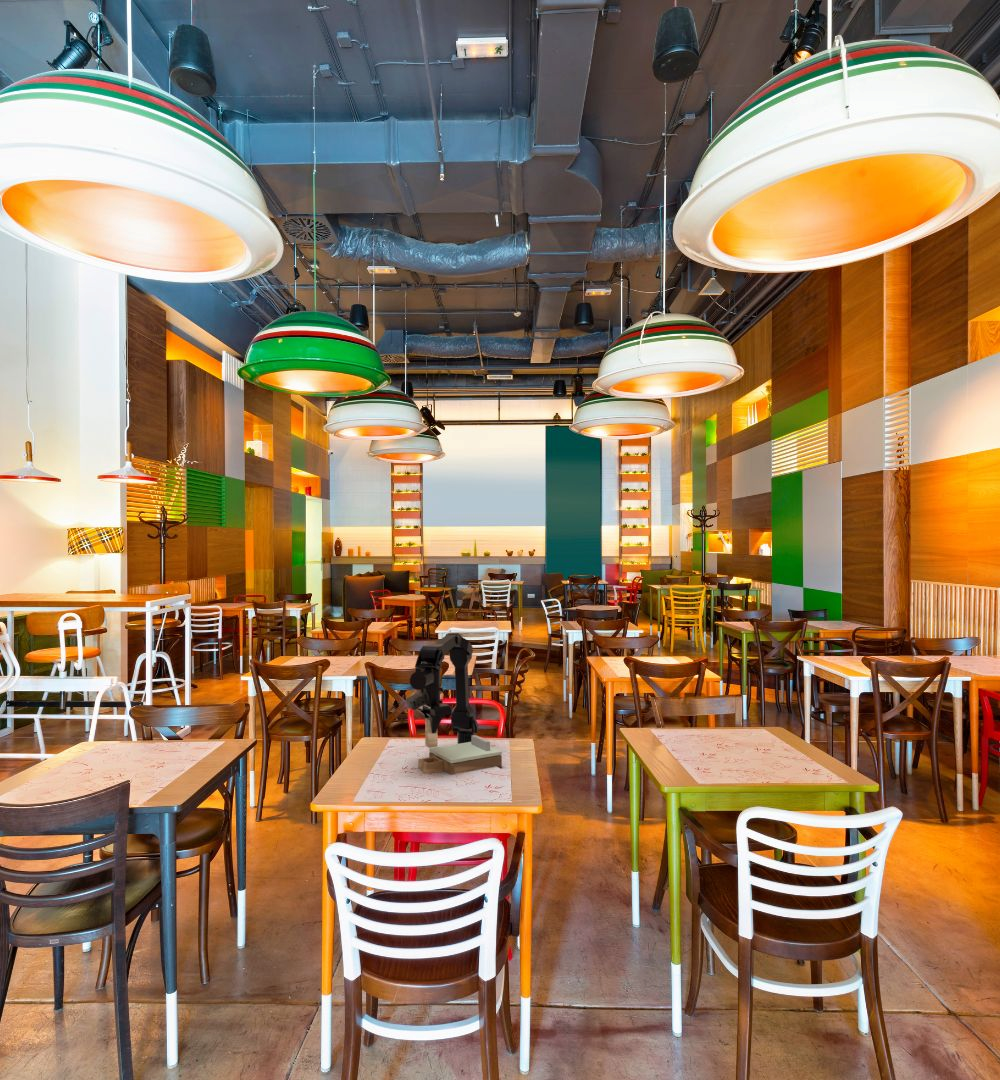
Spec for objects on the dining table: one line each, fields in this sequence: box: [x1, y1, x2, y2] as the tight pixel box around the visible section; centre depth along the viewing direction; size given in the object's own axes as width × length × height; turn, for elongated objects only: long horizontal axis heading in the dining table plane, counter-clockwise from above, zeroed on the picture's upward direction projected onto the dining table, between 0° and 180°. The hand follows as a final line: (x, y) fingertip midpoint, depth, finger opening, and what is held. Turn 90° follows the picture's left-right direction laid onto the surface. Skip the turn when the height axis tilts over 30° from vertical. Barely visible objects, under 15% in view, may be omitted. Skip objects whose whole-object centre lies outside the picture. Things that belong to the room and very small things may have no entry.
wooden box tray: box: [417, 752, 503, 776], centre depth 220 cm, size 16×25×4 cm, turn 122°
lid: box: [428, 734, 503, 763], centre depth 221 cm, size 16×19×4 cm
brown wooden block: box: [424, 717, 439, 748], centre depth 216 cm, size 3×3×9 cm
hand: (431, 732), depth 216 cm, fingers closed on brown wooden block, 3 cm apart
